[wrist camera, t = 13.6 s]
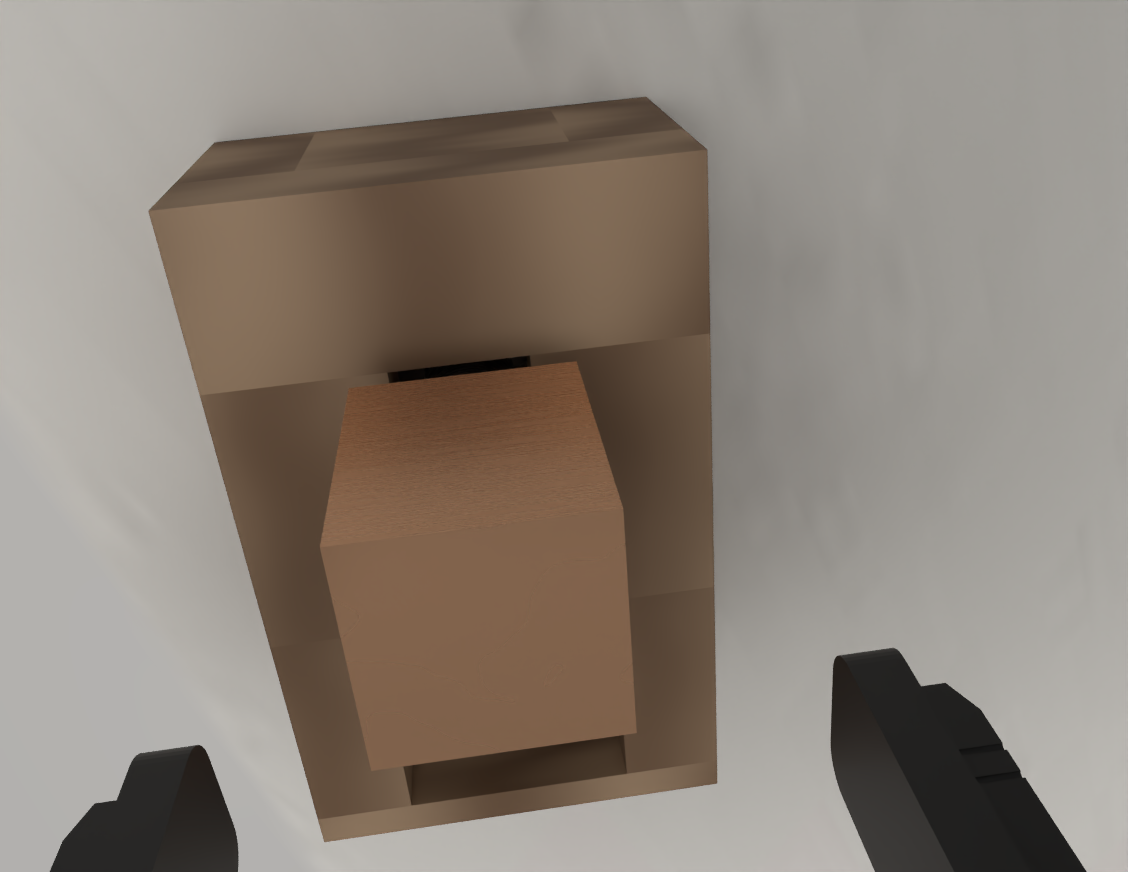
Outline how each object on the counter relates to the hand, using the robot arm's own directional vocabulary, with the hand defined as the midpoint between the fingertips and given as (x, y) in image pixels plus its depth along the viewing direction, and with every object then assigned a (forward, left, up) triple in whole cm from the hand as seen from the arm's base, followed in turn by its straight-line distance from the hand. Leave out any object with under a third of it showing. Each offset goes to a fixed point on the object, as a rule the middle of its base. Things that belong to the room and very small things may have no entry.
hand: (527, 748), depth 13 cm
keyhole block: (0, +3, -15) cm, 15 cm away
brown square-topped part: (0, 0, -15) cm, 15 cm away
